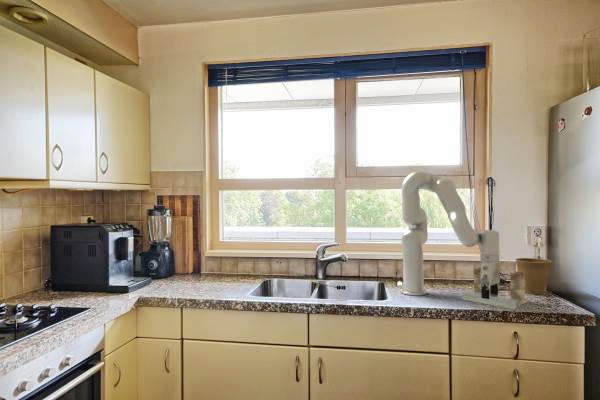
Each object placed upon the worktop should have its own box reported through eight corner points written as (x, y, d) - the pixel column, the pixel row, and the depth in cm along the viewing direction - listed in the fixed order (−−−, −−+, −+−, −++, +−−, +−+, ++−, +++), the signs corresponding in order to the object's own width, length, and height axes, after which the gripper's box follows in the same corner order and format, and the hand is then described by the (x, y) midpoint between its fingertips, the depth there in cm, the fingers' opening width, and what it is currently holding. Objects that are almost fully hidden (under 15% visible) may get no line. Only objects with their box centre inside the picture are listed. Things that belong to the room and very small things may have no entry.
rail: (463, 297, 173) (463, 290, 173) (466, 295, 175) (466, 289, 175) (516, 306, 157) (516, 300, 157) (518, 305, 159) (518, 298, 159)
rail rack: (471, 295, 178) (470, 268, 178) (477, 292, 184) (477, 266, 184) (522, 304, 162) (522, 274, 162) (528, 301, 167) (528, 272, 167)
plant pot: (559, 294, 178) (559, 261, 178) (537, 297, 173) (536, 263, 172) (530, 287, 192) (530, 256, 192) (509, 290, 186) (508, 258, 186)
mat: (461, 299, 171) (461, 298, 171) (469, 296, 177) (469, 294, 177) (514, 309, 155) (514, 308, 155) (520, 305, 161) (520, 304, 161)
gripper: (491, 261, 157) (491, 301, 158) (505, 256, 169) (506, 294, 169) (472, 259, 163) (473, 298, 163) (488, 255, 175) (488, 291, 175)
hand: (489, 296), depth 166 cm, fingers open, 9 cm apart
